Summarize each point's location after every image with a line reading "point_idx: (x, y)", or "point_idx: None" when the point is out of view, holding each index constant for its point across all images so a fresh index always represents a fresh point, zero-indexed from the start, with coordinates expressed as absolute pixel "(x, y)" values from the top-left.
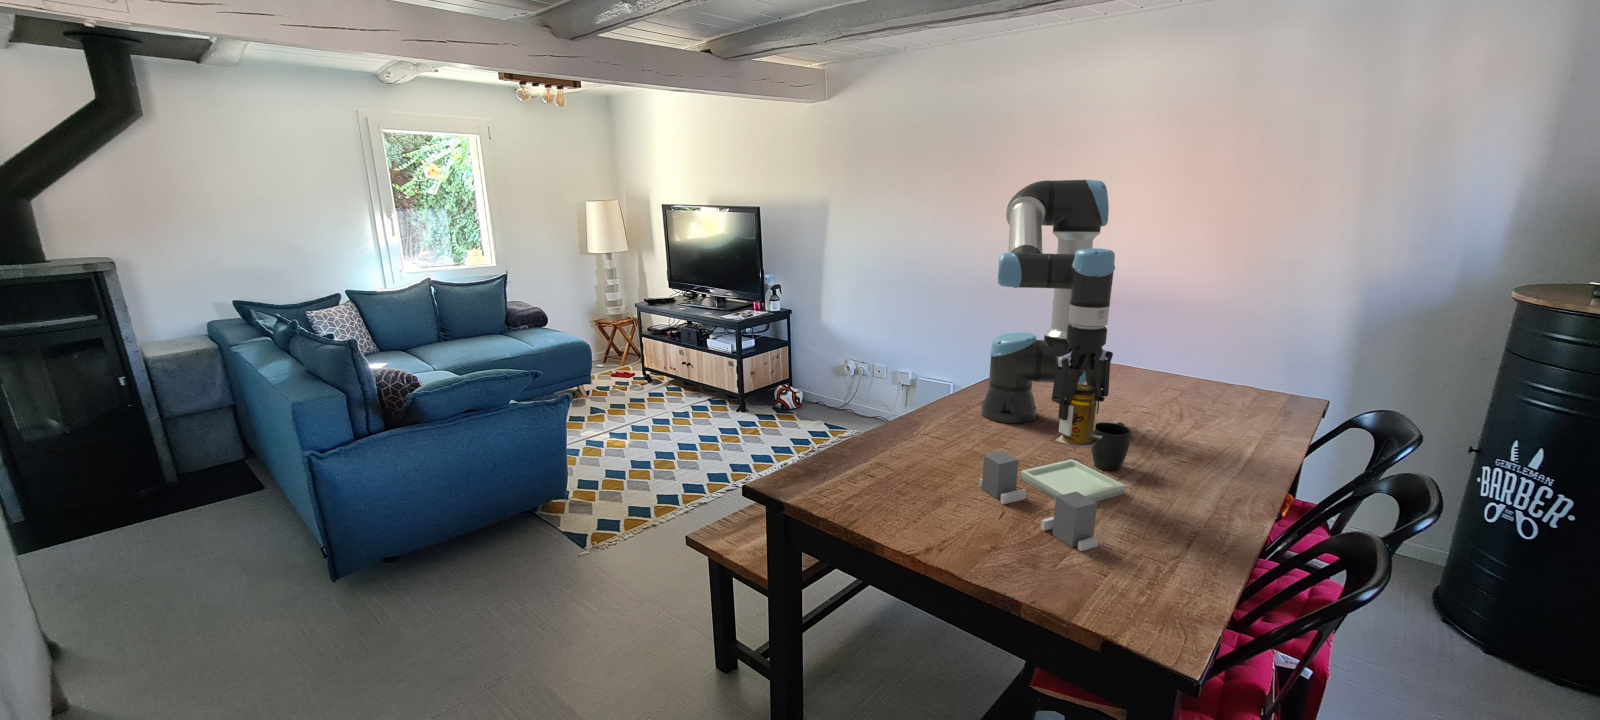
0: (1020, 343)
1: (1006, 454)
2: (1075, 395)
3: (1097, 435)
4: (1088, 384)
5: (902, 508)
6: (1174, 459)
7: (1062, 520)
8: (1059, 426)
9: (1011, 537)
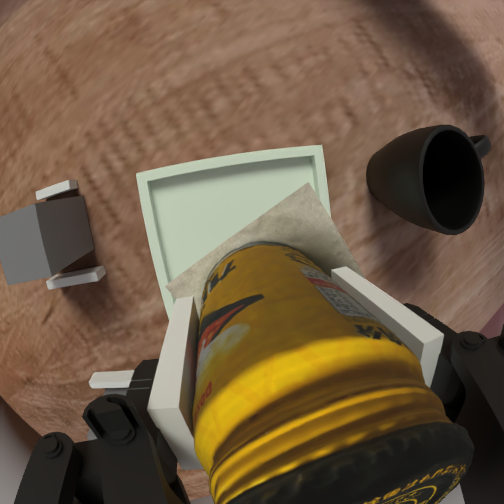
0: None
1: (35, 230)
2: None
3: (409, 180)
4: (494, 442)
5: None
6: (485, 200)
7: None
8: (173, 312)
9: (50, 372)
